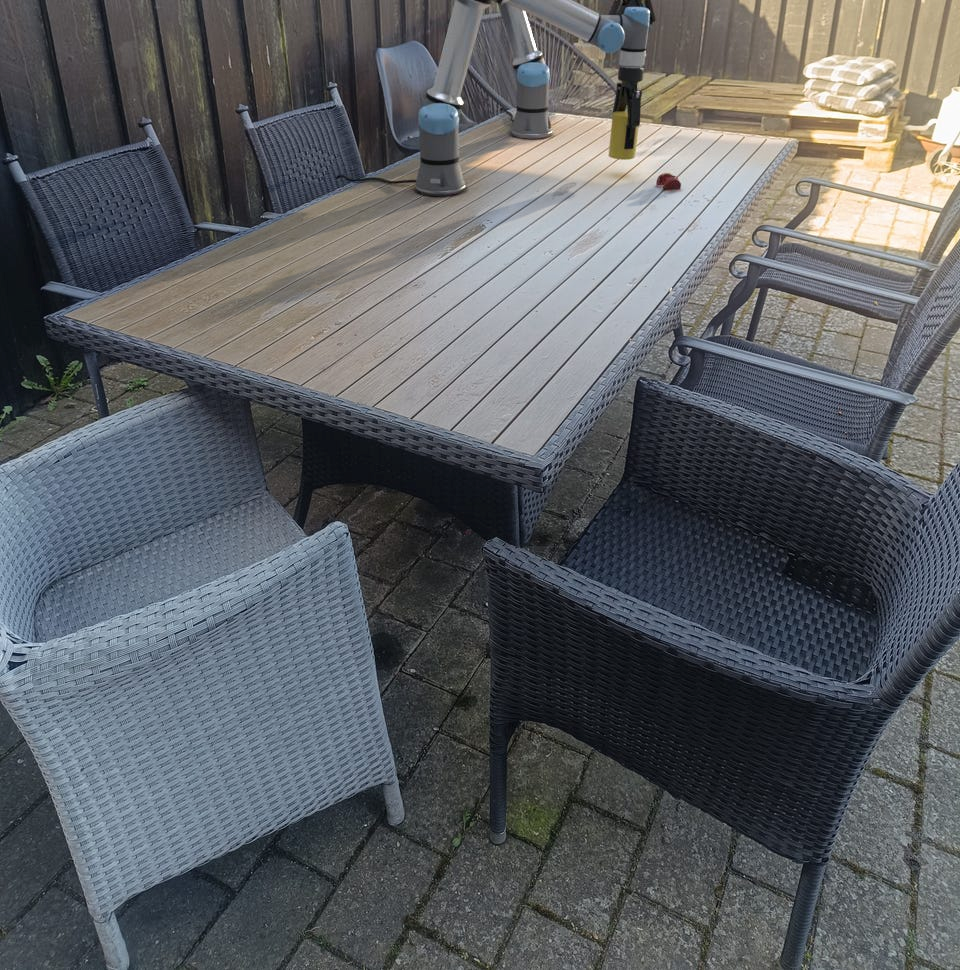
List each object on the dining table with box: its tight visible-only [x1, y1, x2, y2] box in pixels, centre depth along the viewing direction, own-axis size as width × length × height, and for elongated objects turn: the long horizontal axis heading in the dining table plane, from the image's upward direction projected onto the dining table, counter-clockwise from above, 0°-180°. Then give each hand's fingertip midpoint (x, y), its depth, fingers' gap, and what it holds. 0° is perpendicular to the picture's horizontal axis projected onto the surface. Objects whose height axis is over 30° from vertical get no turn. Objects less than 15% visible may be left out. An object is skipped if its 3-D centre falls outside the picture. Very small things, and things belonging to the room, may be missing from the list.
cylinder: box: [608, 110, 640, 161], centre depth 264 cm, size 8×8×13 cm
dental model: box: [655, 172, 682, 192], centre depth 259 cm, size 6×4×8 cm
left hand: (622, 145), depth 266 cm, fingers closed on cylinder, 8 cm apart
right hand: (628, 45), depth 308 cm, fingers open, 13 cm apart
